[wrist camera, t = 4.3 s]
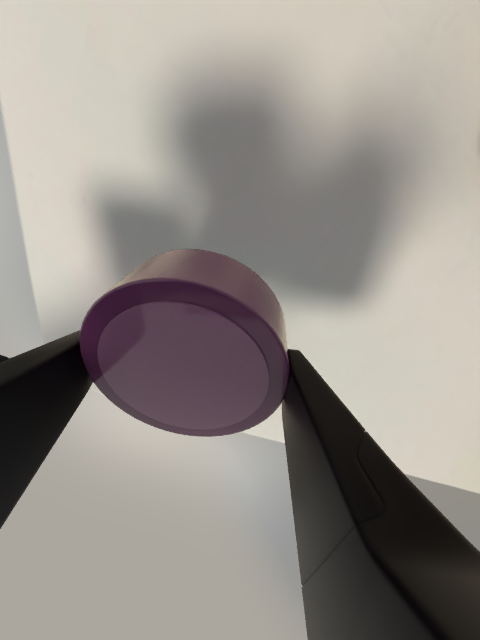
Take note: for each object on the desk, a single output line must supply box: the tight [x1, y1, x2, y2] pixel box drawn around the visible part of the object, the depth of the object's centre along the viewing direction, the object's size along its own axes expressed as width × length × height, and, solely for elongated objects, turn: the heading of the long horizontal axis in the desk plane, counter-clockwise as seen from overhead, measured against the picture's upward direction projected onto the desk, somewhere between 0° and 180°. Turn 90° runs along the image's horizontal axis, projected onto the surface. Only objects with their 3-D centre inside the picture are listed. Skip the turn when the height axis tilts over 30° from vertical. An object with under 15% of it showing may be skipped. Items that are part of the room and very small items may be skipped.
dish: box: [79, 249, 290, 437], centre depth 8 cm, size 6×6×2 cm
